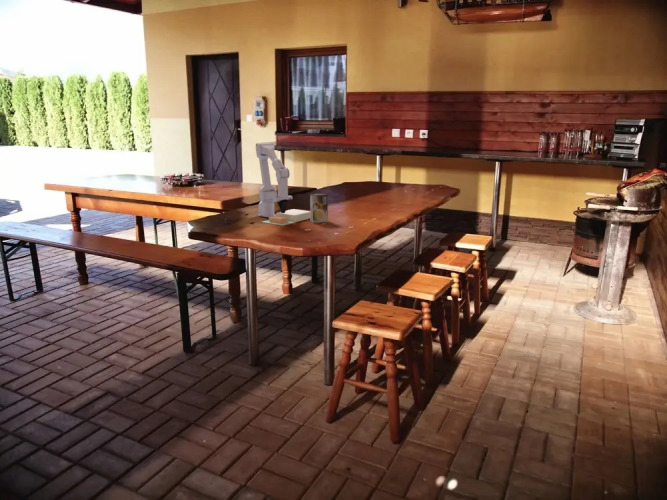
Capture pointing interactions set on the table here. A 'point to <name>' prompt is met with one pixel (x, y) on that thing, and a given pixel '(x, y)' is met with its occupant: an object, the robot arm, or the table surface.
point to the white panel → (295, 215)
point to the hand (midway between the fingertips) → (283, 212)
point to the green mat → (279, 223)
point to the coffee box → (318, 208)
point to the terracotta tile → (278, 219)
